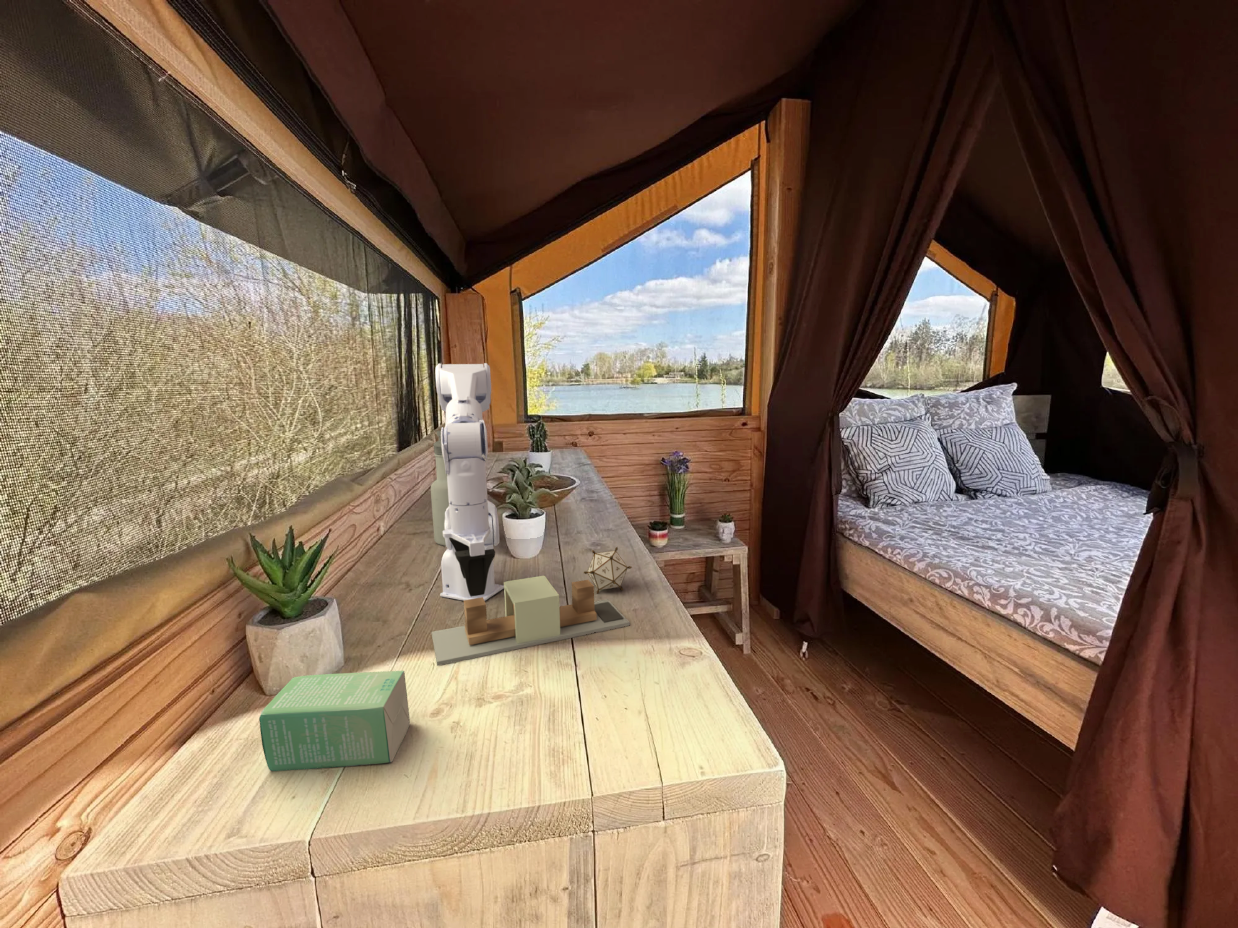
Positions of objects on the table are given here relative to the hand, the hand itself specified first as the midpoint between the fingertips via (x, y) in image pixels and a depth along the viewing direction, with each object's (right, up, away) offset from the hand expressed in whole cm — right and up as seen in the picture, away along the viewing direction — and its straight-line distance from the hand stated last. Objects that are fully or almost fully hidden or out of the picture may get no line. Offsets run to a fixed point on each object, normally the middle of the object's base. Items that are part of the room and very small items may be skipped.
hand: (473, 585), depth 85 cm
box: (-9, -14, -22) cm, 28 cm away
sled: (+8, -9, +5) cm, 13 cm away
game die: (+21, -6, +22) cm, 30 cm away
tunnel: (+8, -9, +5) cm, 13 cm away
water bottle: (-19, 0, +52) cm, 55 cm away
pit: (+21, -8, +10) cm, 24 cm away
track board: (+8, -9, +5) cm, 13 cm away
